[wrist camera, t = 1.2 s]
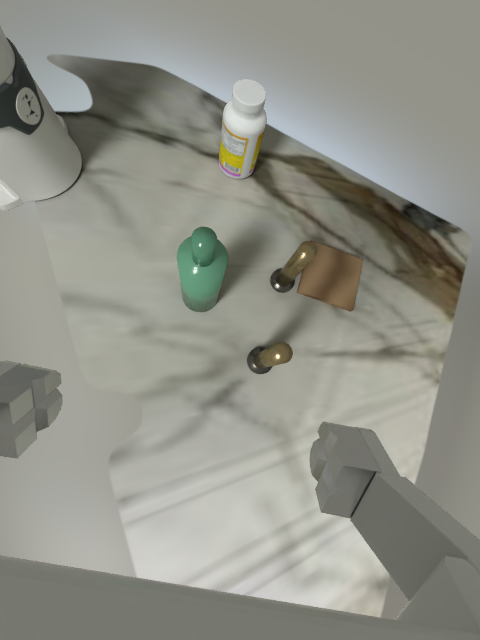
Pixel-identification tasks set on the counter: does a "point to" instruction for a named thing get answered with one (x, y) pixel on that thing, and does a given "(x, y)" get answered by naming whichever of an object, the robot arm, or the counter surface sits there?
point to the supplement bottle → (242, 129)
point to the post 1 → (269, 357)
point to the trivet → (331, 277)
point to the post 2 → (293, 267)
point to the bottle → (201, 269)
